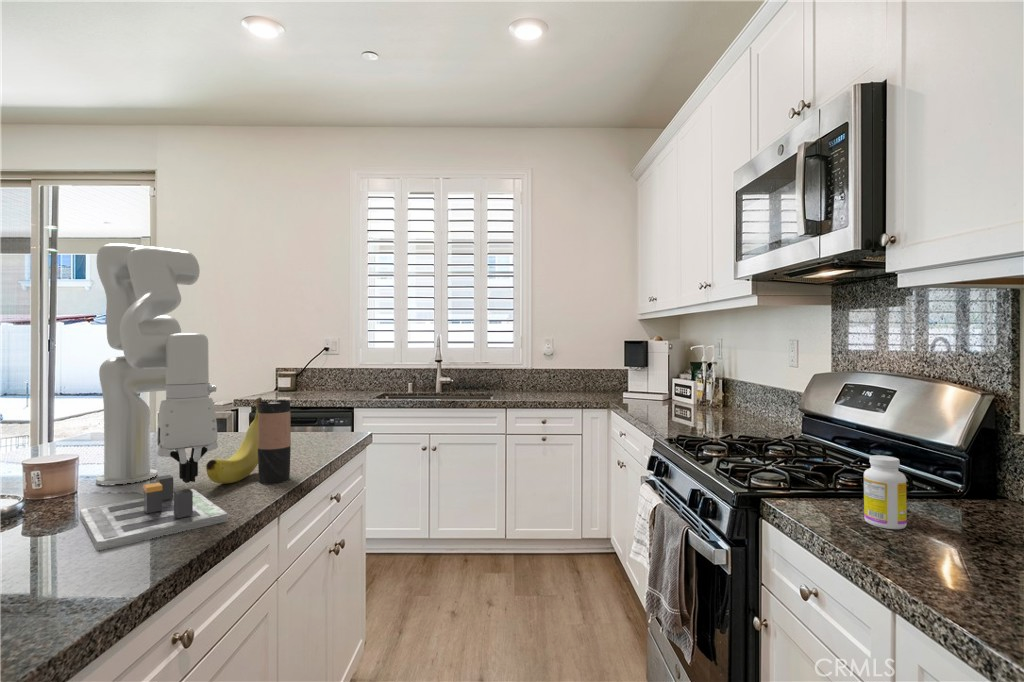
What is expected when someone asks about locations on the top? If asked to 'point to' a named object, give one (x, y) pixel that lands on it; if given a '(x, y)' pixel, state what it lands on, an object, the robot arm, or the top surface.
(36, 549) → the top surface
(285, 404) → the travel mug
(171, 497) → the block
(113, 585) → the top surface
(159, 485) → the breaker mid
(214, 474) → the banana
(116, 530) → the panel
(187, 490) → the breaker near
